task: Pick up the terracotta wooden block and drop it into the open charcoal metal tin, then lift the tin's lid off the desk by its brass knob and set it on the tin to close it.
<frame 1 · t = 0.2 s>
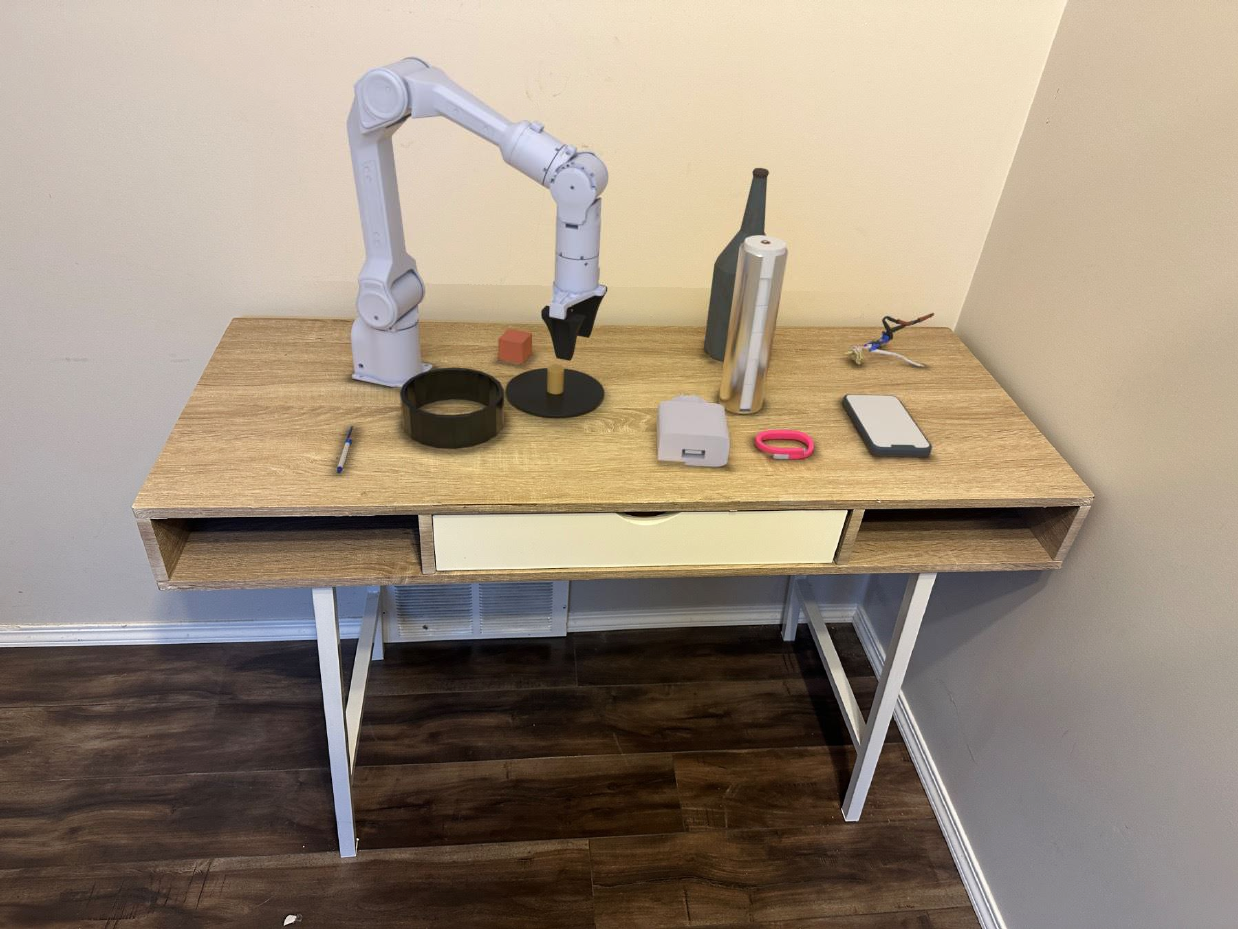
hand: (573, 346, 124), 10 cm above the table, tool pointing down, fingers open, 7 cm apart
ballpoint pen: (346, 452, 118), on the table
tin: (453, 425, 124), on the table
charger: (688, 437, 126), on the table
silver metal cylinder: (739, 404, 134), on the table
bottle: (733, 355, 148), on the table
block: (515, 358, 142), on the table
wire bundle: (879, 358, 151), on the table
smartphone: (883, 429, 131), on the table
fitness band: (783, 449, 125), on the table
tin lid: (555, 393, 132), point 1 cm above the table
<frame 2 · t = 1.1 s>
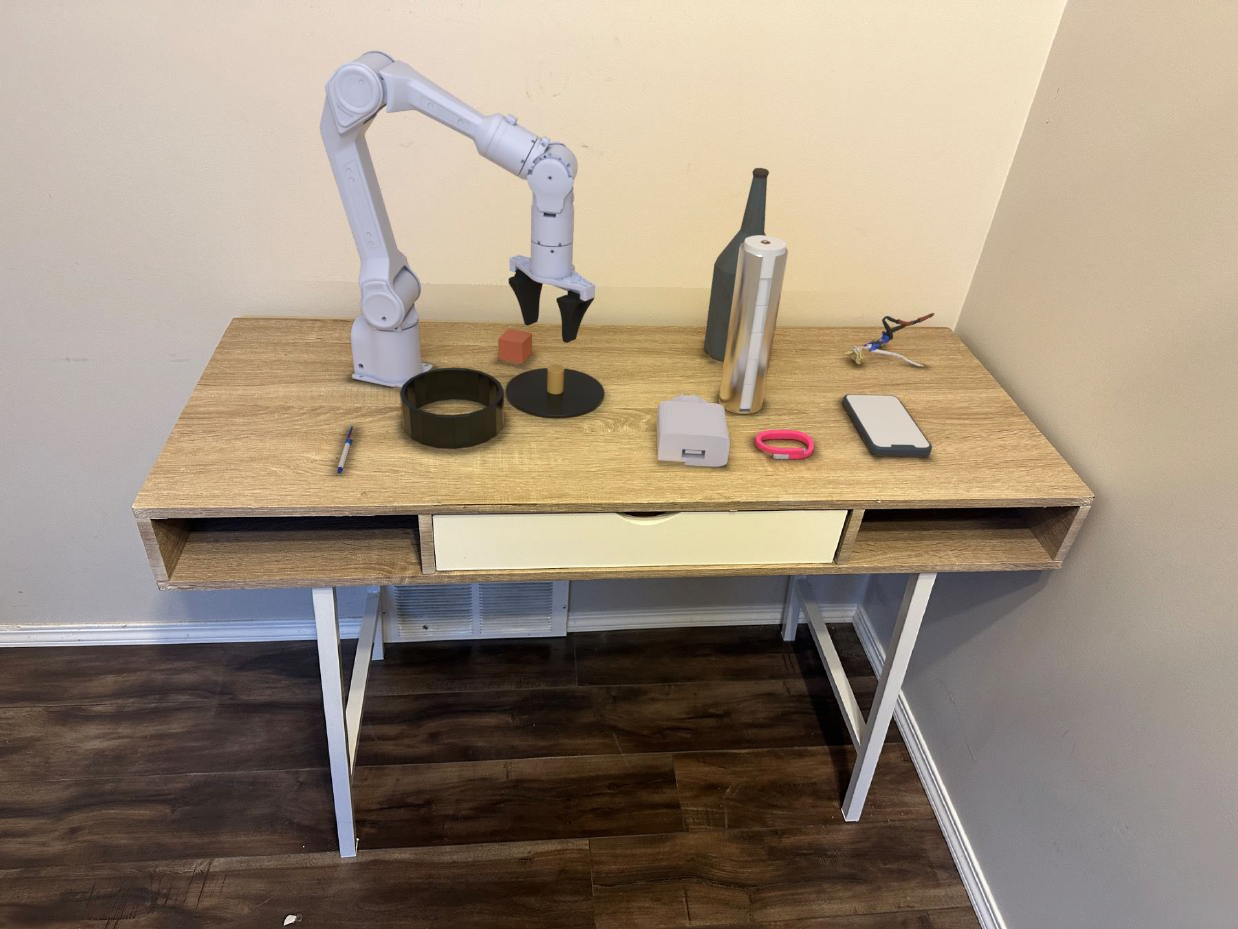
hand: (550, 331, 129), 9 cm above the table, tool pointing down, fingers open, 7 cm apart
nothing on the table moved.
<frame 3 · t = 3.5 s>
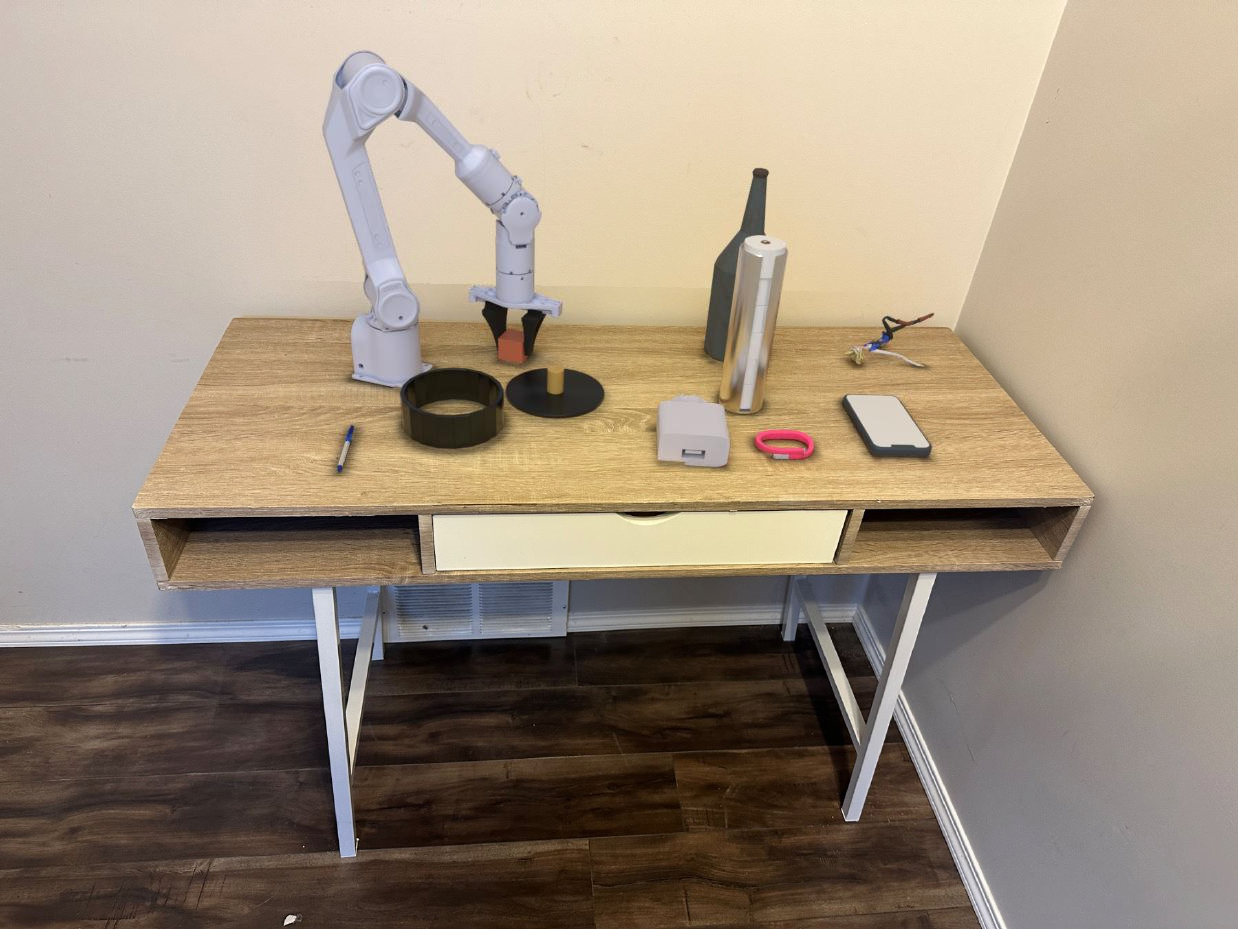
hand: (515, 350, 141), 1 cm above the table, tool pointing down, fingers closed on block, 4 cm apart
block: (515, 358, 142), on the table, touching gripper
everything else where it was.
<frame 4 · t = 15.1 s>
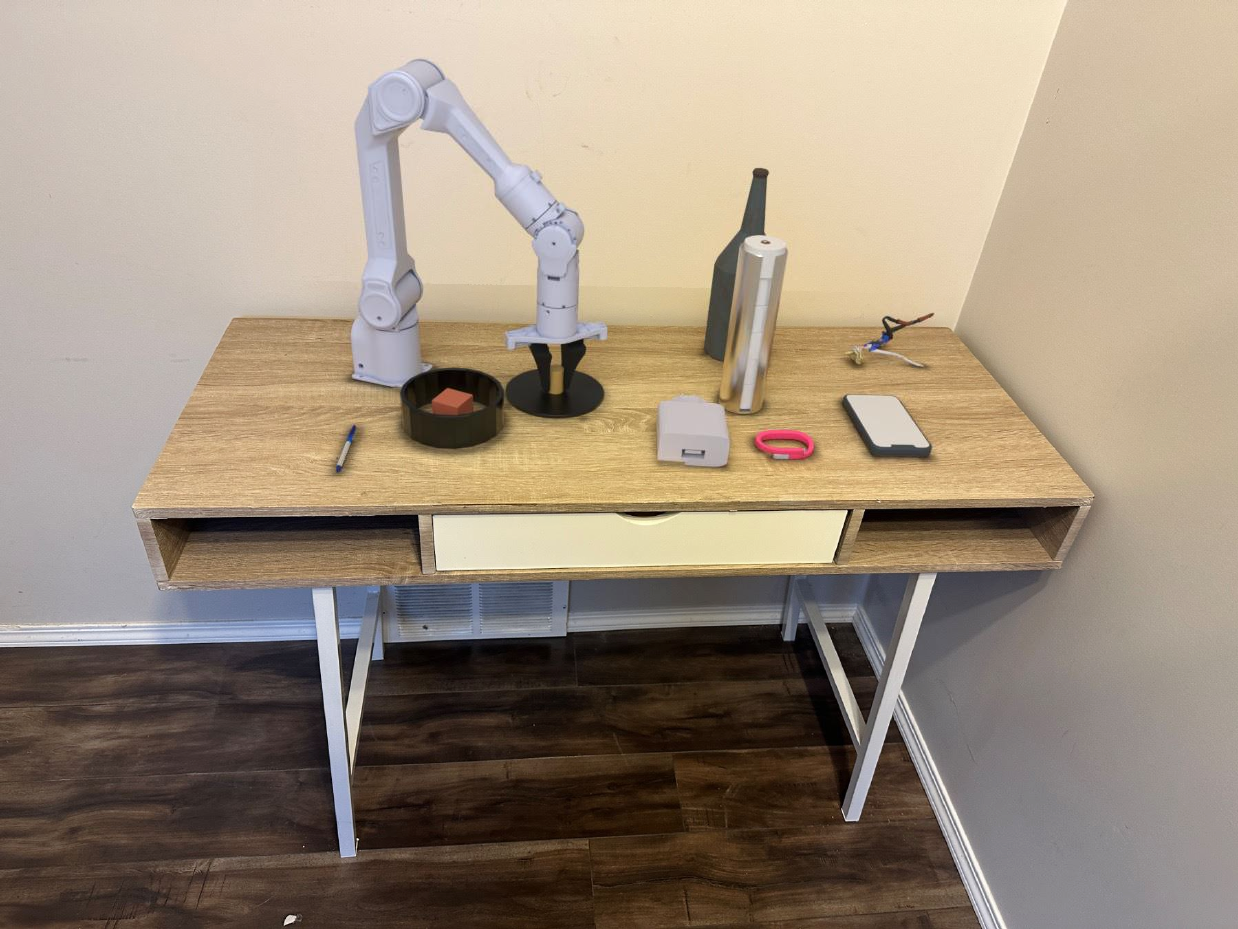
hand: (555, 387, 132), 2 cm above the table, tool pointing down, fingers closed on tin lid, 2 cm apart
block: (453, 422, 124), resting on tin
tin lid: (555, 393, 132), point 1 cm above the table, touching gripper
everything else where it was.
when the fingers open (6 cm above the table, at t = 18.6 s): tin lid stays where it is, resting on tin.
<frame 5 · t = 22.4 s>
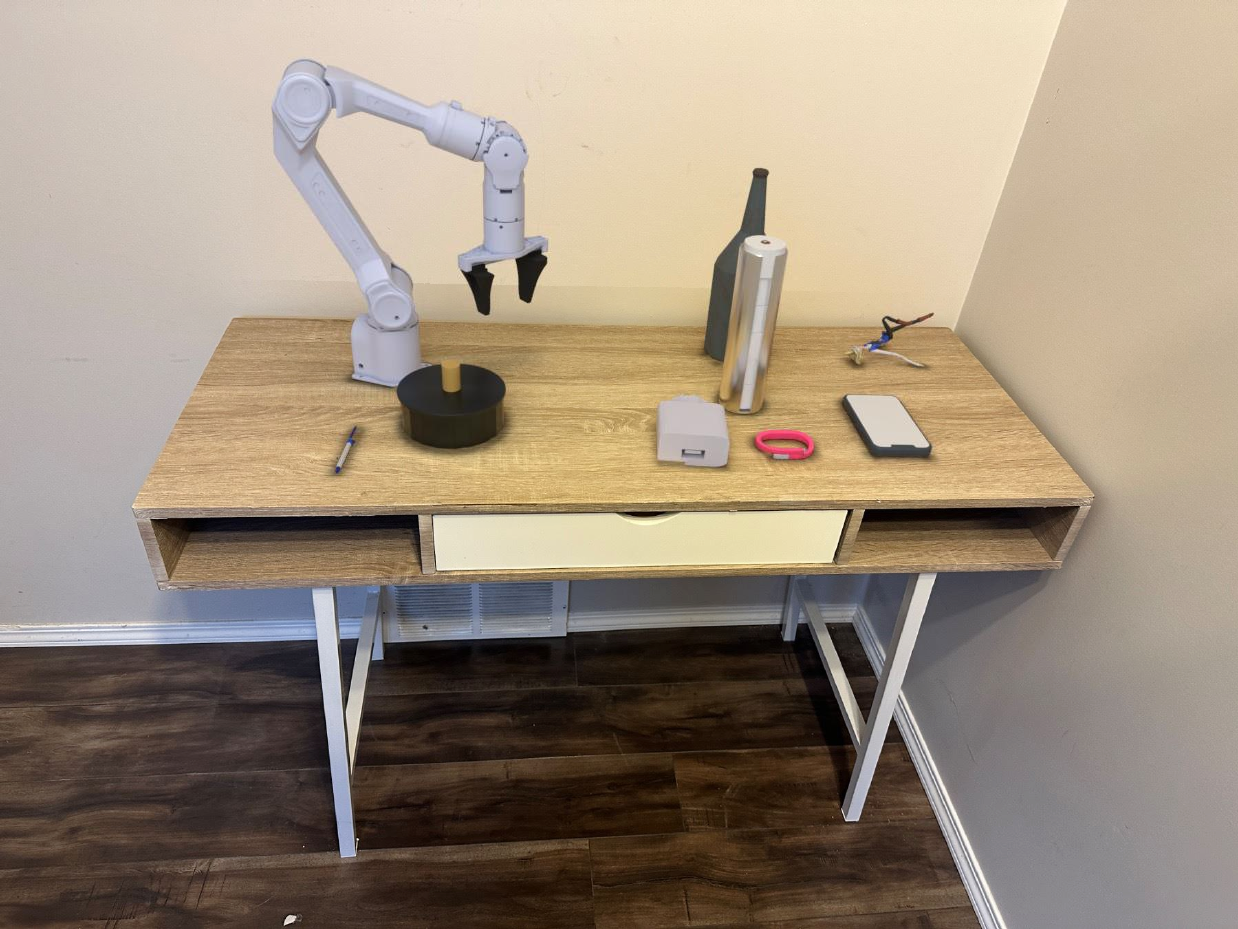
hand: (504, 306, 133), 10 cm above the table, tool pointing down, fingers open, 7 cm apart
tin lid: (451, 391, 121), point 5 cm above the table, touching tin
everything else where it was.
at the end: block inside the target area in the tin (0.0 cm from its centre), point 0.4 cm above the tin's base; tin lid 0.1 cm off-centre on the tin, point 5.4 cm above the tin's base; tin lid tilted 0° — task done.
